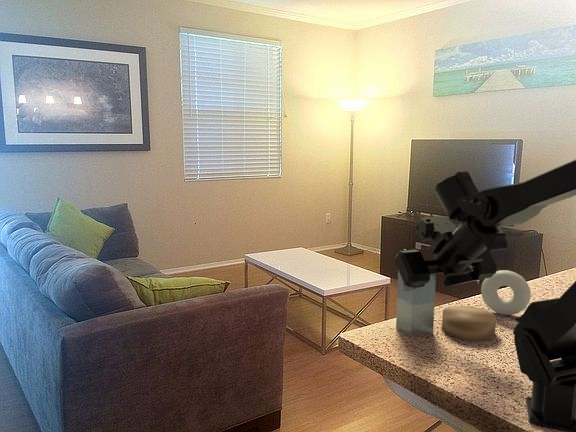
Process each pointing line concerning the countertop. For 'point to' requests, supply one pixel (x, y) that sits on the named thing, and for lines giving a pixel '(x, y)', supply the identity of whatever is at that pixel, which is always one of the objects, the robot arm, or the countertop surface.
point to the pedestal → (468, 323)
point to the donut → (515, 283)
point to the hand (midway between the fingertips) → (425, 286)
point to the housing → (416, 308)
